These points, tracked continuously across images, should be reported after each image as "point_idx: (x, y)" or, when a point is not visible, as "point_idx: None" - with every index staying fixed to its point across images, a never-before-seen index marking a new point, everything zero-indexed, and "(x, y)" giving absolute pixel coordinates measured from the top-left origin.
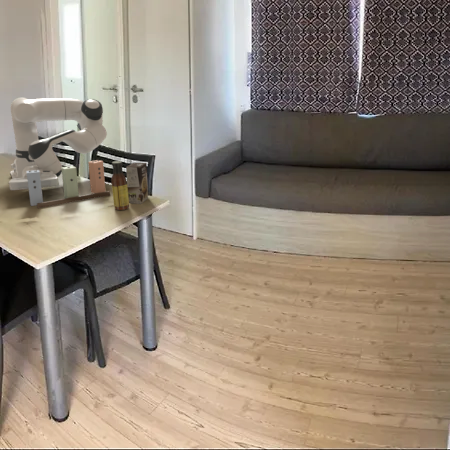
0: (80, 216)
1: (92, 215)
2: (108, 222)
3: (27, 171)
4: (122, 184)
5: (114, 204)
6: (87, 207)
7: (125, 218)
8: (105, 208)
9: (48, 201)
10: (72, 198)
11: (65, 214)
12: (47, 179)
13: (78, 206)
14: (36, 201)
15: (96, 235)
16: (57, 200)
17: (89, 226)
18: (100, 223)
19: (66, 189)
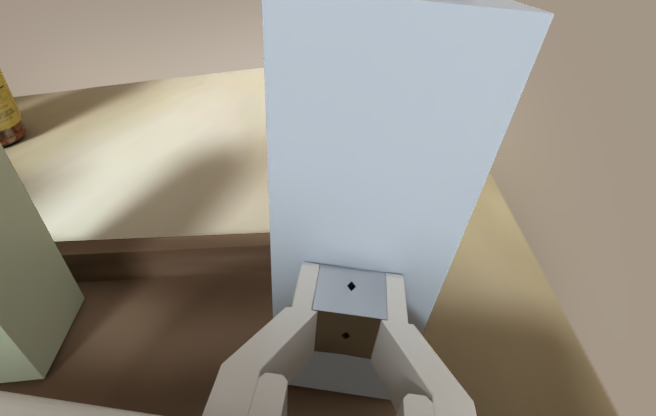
0: (196, 142)
1: (152, 135)
2: (163, 93)
3: (511, 5)
4: None
5: (13, 116)
6: (73, 204)
7: (96, 93)
8: (29, 164)
9: (263, 242)
10: (64, 245)
11: (234, 174)
12: (2, 397)
13: (92, 236)
14: None
15: (245, 71)
16: (196, 236)
17: (227, 95)
18: (187, 96)
19: (36, 222)
